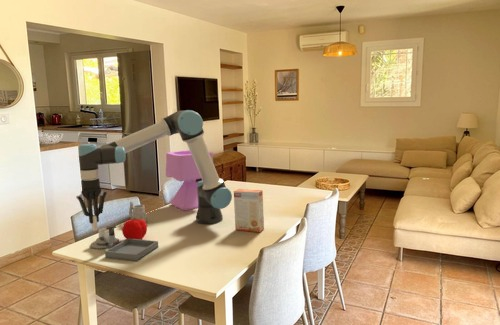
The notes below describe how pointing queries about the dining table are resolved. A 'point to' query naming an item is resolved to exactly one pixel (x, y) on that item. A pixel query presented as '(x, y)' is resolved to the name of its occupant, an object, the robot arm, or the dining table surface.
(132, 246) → the tray
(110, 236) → the crank
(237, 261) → the dining table surface
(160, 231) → the dining table surface
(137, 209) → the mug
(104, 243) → the crank base
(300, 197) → the dining table surface
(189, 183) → the pink table lamp
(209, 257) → the dining table surface
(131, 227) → the tomato
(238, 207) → the cracker box
